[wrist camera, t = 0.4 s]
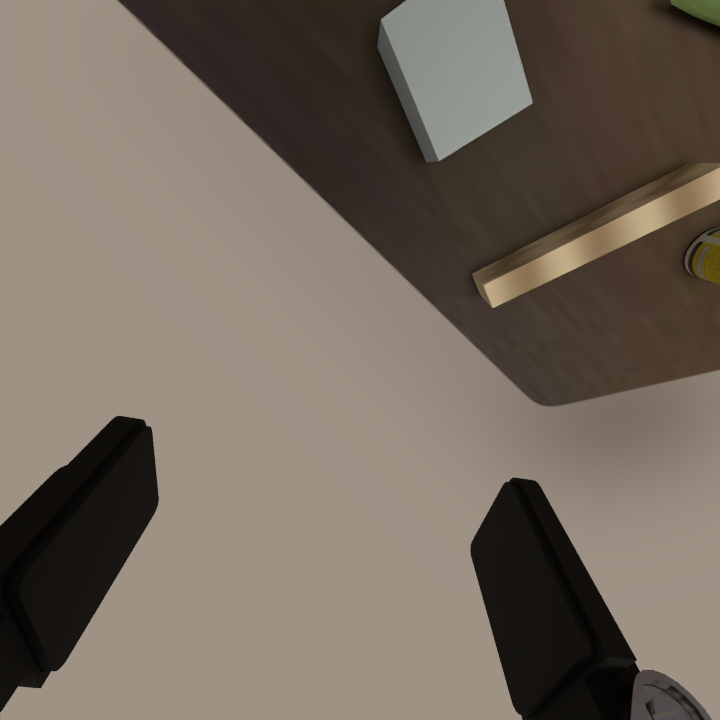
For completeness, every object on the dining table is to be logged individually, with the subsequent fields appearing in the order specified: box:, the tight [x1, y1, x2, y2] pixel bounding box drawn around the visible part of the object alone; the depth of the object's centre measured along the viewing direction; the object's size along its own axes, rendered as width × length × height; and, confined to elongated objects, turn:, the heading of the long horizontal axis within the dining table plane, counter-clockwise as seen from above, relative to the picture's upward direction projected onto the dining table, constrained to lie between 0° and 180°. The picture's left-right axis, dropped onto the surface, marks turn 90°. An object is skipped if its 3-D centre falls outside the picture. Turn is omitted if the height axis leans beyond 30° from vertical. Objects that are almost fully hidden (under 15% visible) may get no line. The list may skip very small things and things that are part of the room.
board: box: [472, 163, 720, 308], centre depth 32 cm, size 20×2×4 cm, turn 119°
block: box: [377, 0, 533, 162], centre depth 26 cm, size 7×9×6 cm
